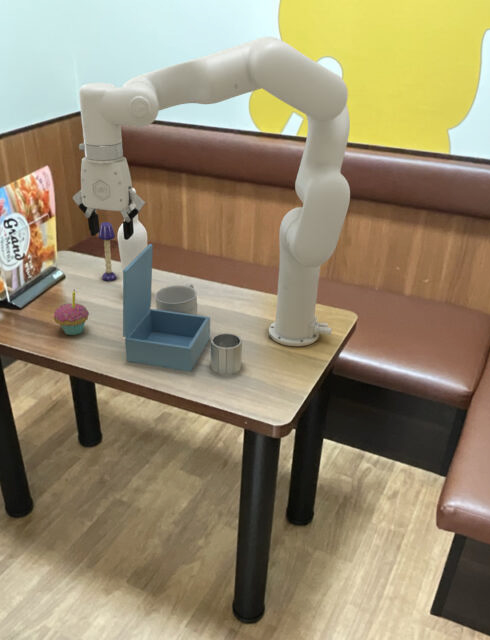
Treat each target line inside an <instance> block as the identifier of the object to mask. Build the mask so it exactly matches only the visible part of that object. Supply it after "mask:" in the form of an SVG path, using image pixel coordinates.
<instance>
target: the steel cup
mask: <svg viewBox="0 0 490 640" xmlns="http://www.w3.org/2000/svg"><path fill="white" fill-rule="evenodd" d="M242 354H243V339H242V337H241V336H239V335H237V334H234V333H230V332H222V333H218V334H216V335H215V334H214V335H213V336H212V337H211V338H210V368H211V370H212V371H213V372H214V373H217V374H220V375H233V374H236V373H237V372H240V370H241V369H242V359H243V358H242V357H243V355H242Z"/></svg>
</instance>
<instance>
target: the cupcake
mask: <svg viewBox="0 0 490 640" xmlns="http://www.w3.org/2000/svg"><path fill="white" fill-rule="evenodd" d="M71 293H72V296H71V297H72V302H70V303H64V304H61V305H60V306H58V307H57V308H56V310H54V314H53V320H54V321H55V323H57V324H58V325H60V326H61V328H62V330H63V331H64V333H65V334H66V335H69V336H76V335H80V334H81V333H83V332H84V329H85V324H86V321H87V320H88V319H89V315H90V313H89V310H88V308H87V307H86V306H84V305H83V304H80V303H76V292H75V288H73V291H72V292H71Z"/></svg>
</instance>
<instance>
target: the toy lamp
mask: <svg viewBox="0 0 490 640" xmlns="http://www.w3.org/2000/svg"><path fill="white" fill-rule="evenodd" d="M99 228H100V232H99V233H98V239H100V240H101V241H103V242H104V243H103V247H104V250H103V251H104V258H105V259H104V263H105V264H104V265H105V272H103V274H102V276H101V279H102V280H103V281H105V282H112V281H115V280H116V279H118V278H117V274H116V273H115V272H113V269H112V258H111V257H112V253H111V241H112V240H114V239H115V237H116V234H115V231H114V228H113V225H112V223H111V222H108V221H104V222H101V223H100V224H99Z"/></svg>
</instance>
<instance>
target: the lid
mask: <svg viewBox="0 0 490 640" xmlns="http://www.w3.org/2000/svg"><path fill="white" fill-rule="evenodd" d="M153 246H154V244H152V243H149V244H147V247H146V248H145V249H144V250H143V251H142V252H141V253H140V254H139V255H138V256H137V257H136V258H135V259H134V260H133V261H132V262H131V263H130V264H129V265H128V266H127V267H126V268H125V269H124V270H123V272H122V281H123V294H122V337H123V338H126V337H127V336H128V334H129V333H130V332H131V331H132V329H133V328H134V327H135V326H136V325H137V323H138V322H139V321H140V320H141V318H142V317H143V316H144V315H145V313H146V312H147V311H148V310H149V309H151V307H152V284H153V283H152V281H153V280H152V279H153V251H154V250H153V248H154V247H153Z"/></svg>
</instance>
